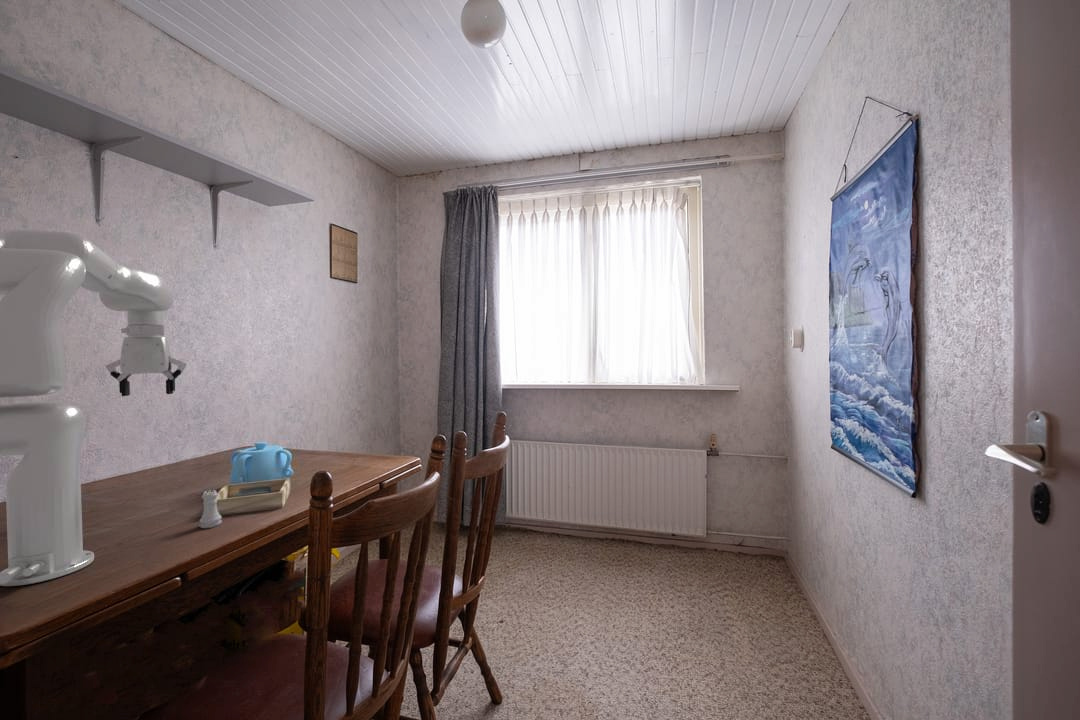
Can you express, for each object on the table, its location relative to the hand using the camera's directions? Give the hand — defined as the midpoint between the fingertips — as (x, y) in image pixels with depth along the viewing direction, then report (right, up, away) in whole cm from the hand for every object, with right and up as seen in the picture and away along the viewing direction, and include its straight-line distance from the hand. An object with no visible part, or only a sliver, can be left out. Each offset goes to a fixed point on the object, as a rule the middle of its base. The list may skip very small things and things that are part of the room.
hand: (148, 394), depth 126 cm
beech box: (+30, -29, -2) cm, 42 cm away
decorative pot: (+22, -30, +15) cm, 40 cm away
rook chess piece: (+30, -30, -18) cm, 46 cm away
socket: (+30, -29, -2) cm, 42 cm away
